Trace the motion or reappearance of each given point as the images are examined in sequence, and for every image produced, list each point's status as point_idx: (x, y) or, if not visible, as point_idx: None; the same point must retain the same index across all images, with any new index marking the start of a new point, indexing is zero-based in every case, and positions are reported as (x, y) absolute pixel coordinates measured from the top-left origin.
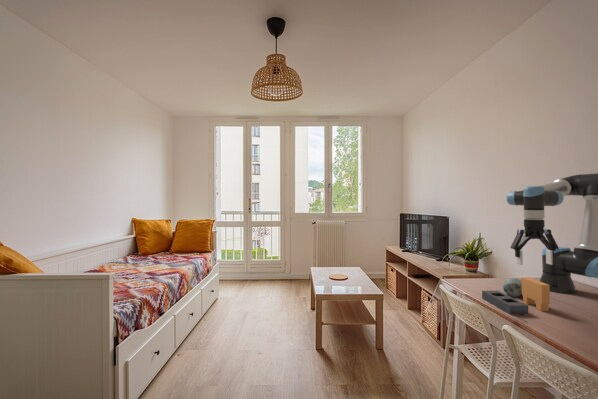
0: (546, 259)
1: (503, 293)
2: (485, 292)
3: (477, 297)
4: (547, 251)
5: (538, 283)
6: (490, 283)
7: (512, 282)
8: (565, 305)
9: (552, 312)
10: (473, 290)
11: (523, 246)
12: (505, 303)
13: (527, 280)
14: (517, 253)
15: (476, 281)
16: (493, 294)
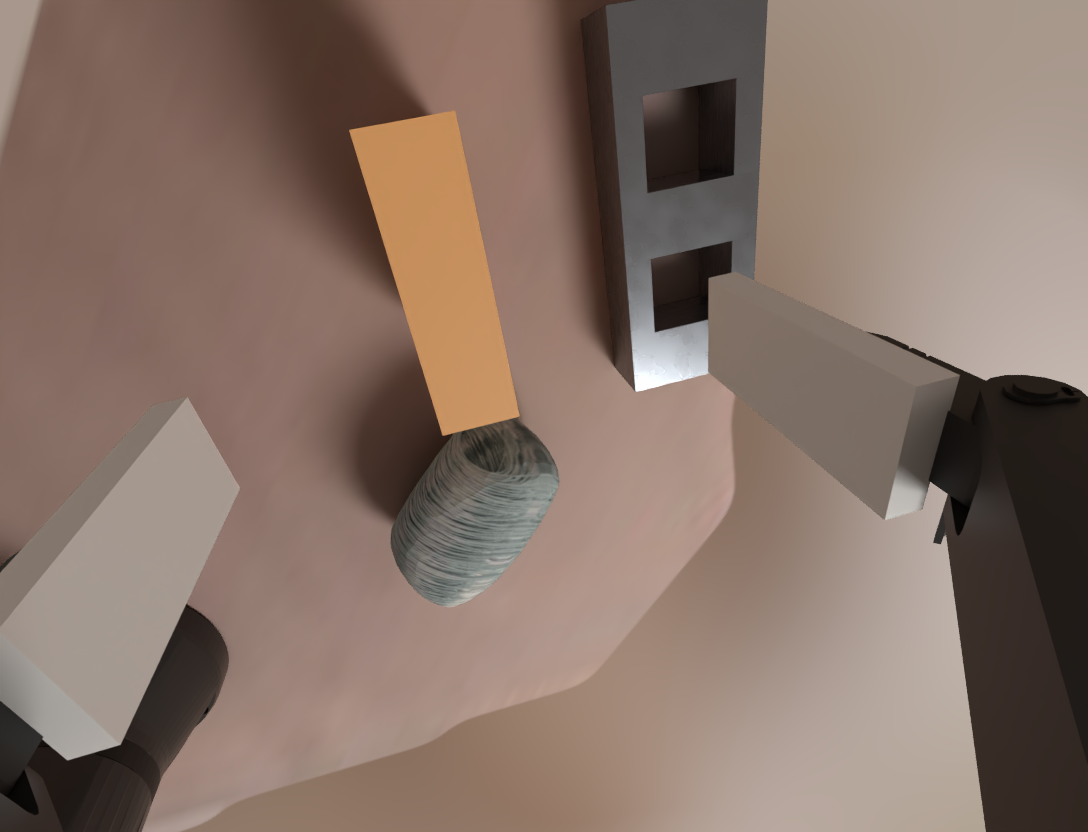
0: (211, 527)
1: (633, 327)
2: None
3: None
4: (109, 667)
5: (458, 188)
6: (515, 638)
7: (519, 482)
8: (179, 313)
9: (359, 109)
10: (685, 487)
11: (1012, 482)
12: (763, 49)
13: (502, 335)
14: (939, 362)
15: (580, 648)
16: (697, 317)
